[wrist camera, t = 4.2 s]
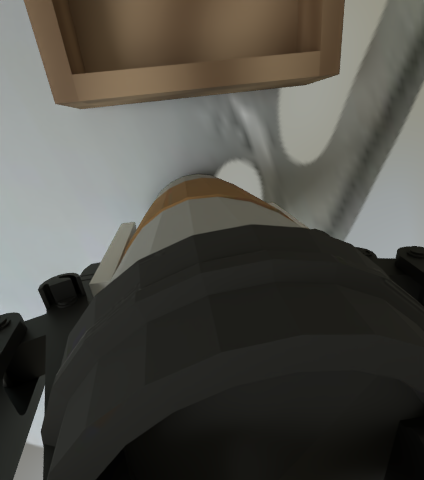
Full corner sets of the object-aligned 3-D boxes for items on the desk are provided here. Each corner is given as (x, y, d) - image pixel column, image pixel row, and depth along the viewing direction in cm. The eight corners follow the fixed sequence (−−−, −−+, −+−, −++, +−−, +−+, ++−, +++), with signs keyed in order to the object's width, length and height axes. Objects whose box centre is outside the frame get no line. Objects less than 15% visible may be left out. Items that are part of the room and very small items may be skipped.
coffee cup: (115, 246, 18) (-65, 618, 4) (169, 130, 16) (144, 144, 2) (220, 289, 21) (316, 613, 7) (280, 194, 18) (607, 395, 5)
